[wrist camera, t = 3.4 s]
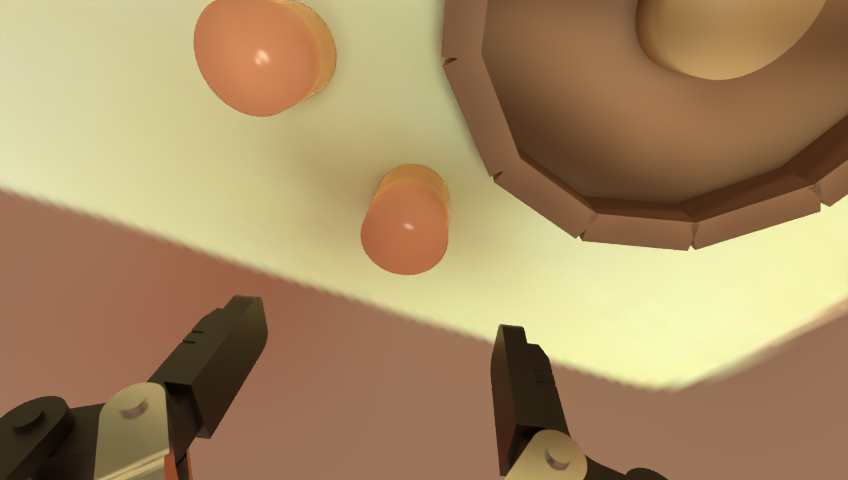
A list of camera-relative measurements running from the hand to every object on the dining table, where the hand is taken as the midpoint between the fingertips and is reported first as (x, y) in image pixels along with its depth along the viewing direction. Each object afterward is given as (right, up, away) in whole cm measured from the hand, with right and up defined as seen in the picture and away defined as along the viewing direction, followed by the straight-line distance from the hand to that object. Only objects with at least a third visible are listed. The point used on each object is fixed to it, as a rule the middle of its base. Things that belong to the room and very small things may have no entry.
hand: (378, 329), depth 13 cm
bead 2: (+1, +5, +8) cm, 10 cm away
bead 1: (-5, +12, +5) cm, 14 cm away
